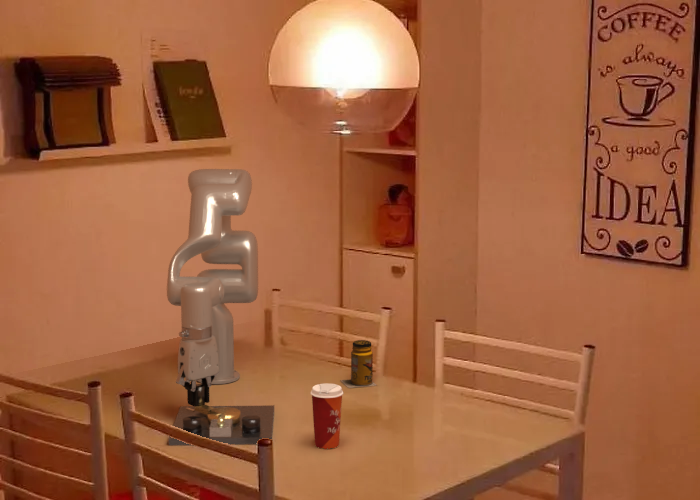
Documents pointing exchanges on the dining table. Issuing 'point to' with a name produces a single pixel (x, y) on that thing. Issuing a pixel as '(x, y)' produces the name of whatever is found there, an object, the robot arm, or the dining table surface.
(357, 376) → the condiment
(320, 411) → the paper cup
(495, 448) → the dining table surface
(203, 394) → the crank dial
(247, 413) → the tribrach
